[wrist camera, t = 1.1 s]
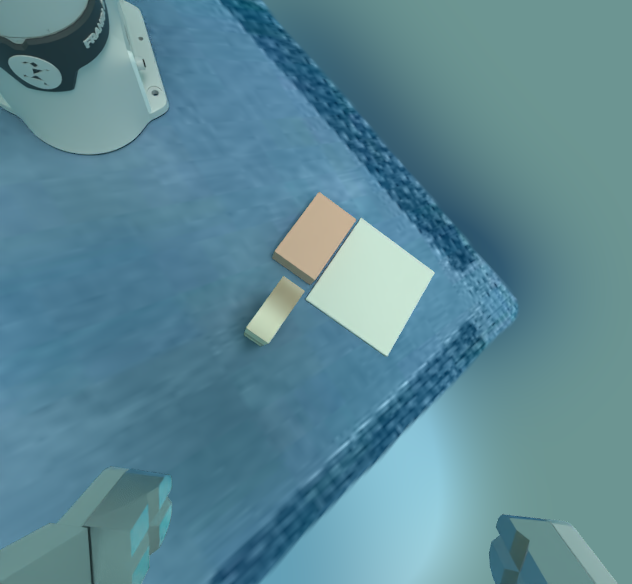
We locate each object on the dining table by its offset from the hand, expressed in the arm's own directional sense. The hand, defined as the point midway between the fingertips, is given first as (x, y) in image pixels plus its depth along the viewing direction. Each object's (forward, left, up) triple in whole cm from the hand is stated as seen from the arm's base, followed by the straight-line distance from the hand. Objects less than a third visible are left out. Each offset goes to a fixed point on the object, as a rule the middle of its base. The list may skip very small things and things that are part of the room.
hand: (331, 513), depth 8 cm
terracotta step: (-18, +9, -33) cm, 39 cm away
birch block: (-8, +2, -33) cm, 34 cm away
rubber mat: (-11, +17, -33) cm, 39 cm away
